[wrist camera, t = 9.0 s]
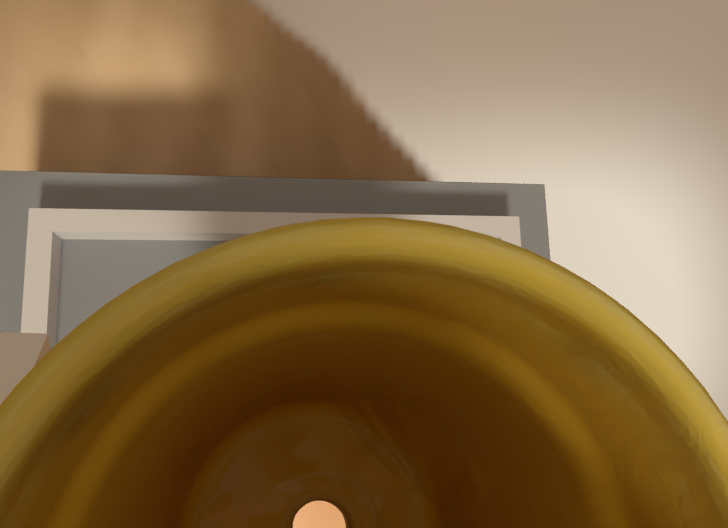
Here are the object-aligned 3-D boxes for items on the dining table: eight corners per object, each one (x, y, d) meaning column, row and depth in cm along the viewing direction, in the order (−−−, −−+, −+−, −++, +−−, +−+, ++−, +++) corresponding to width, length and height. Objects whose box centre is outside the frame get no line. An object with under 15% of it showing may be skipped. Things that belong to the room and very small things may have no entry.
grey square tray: (-3, 756, 26) (-79, 865, 20) (32, 207, 29) (-22, 158, 23) (532, 697, 29) (607, 775, 23) (500, 216, 33) (557, 175, 27)
